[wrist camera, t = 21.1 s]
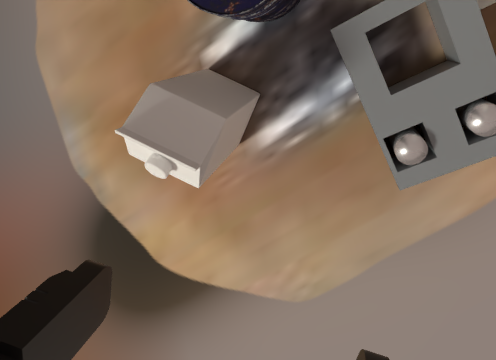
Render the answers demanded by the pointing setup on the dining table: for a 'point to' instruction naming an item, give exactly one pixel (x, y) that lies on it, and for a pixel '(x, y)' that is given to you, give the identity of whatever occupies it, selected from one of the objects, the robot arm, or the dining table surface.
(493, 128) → the plunger
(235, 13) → the storage jar
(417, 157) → the plunger
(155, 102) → the milk carton
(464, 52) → the housing
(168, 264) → the dining table surface
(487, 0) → the coaster
